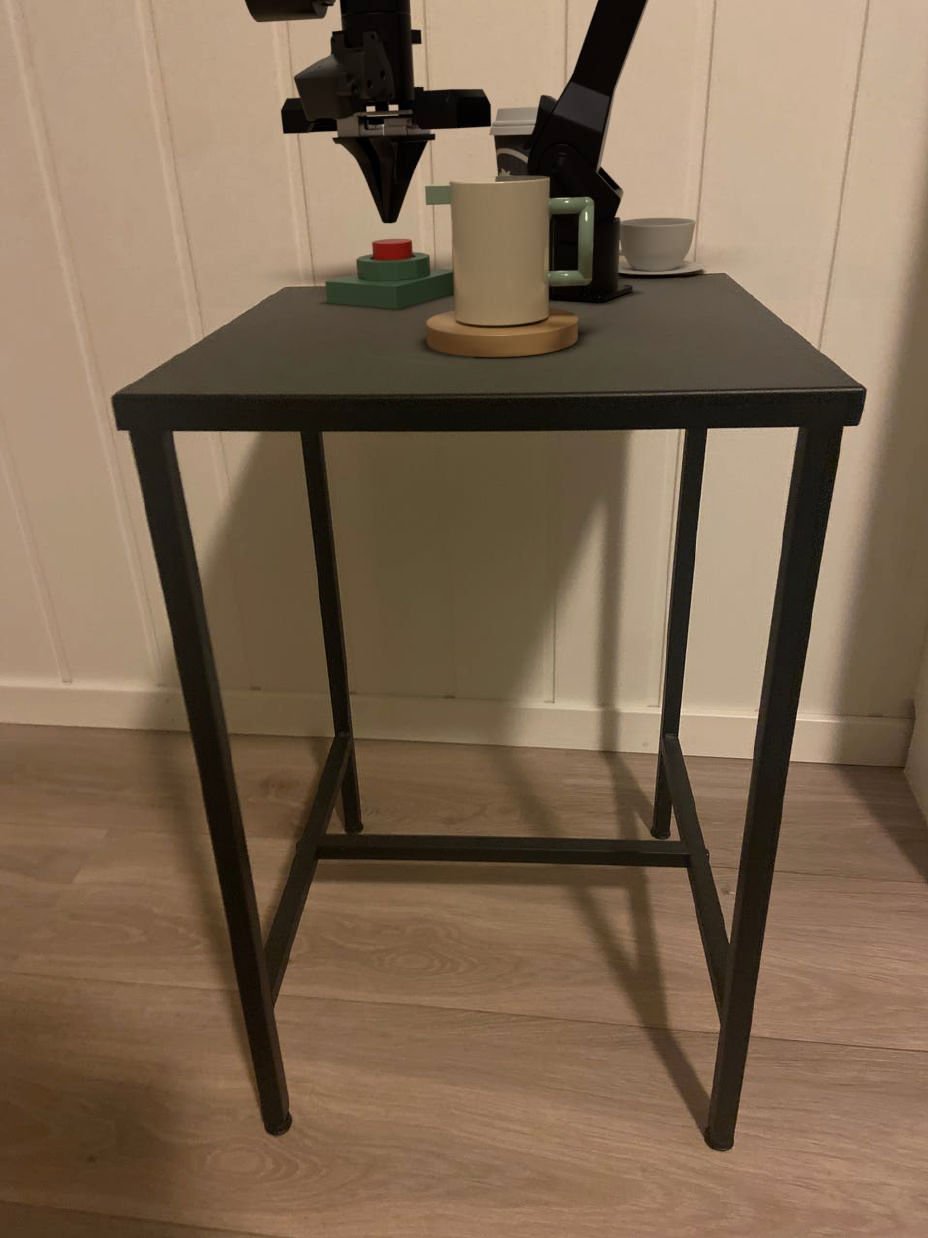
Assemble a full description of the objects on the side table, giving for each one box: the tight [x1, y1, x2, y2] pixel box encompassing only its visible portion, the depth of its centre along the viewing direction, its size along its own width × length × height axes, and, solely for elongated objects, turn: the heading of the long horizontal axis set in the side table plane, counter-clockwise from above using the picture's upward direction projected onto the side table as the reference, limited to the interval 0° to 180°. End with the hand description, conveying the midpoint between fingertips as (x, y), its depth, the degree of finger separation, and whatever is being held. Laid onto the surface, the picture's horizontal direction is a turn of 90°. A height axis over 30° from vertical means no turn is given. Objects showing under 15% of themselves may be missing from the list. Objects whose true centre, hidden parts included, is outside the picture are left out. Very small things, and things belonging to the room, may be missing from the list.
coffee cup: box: [488, 106, 555, 271], centre depth 88 cm, size 10×10×15 cm
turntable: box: [425, 307, 579, 359], centre depth 68 cm, size 11×11×2 cm
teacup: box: [618, 217, 706, 276], centre depth 93 cm, size 10×10×5 cm
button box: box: [325, 251, 454, 310], centre depth 86 cm, size 10×8×4 cm
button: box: [371, 238, 413, 260], centre depth 85 cm, size 4×4×2 cm
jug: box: [424, 175, 594, 326], centre depth 65 cm, size 11×7×9 cm, turn 86°
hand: (389, 222), depth 83 cm, fingers closed
